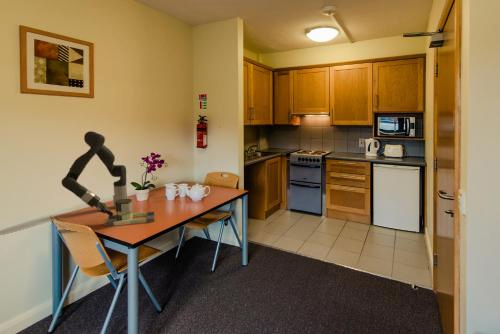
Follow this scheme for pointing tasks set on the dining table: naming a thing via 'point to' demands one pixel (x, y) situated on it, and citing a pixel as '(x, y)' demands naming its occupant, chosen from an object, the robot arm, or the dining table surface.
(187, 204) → the dining table surface
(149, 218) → the push track
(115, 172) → the robot arm
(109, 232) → the dining table surface
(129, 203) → the coffee can
